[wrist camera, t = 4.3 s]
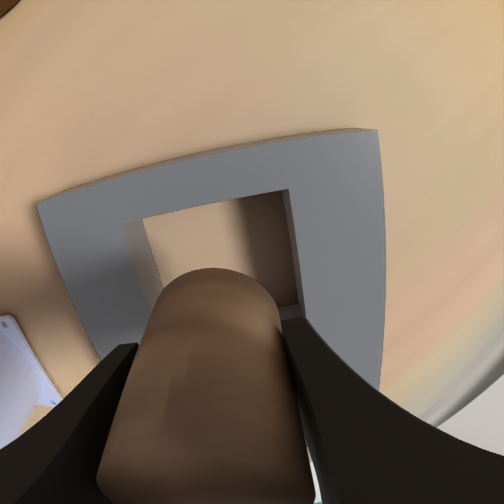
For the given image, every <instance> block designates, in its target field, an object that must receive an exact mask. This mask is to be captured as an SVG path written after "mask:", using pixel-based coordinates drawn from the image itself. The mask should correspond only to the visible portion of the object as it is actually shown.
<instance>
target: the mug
mask: <svg viewBox="0 0 504 504" xmlns="http://www.w3.org/2000/svg"><path fill="white" fill-rule="evenodd" d="M18 1H19V0H0V16H1V15H2V14H4V13H5V12H6V11H8V10H9V9H10V8H11V7H13V6H14V5H15V4H16V3H17V2H18Z"/></svg>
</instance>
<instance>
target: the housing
mask: <svg viewBox="0 0 504 504" xmlns="http://www.w3.org/2000/svg"><path fill="white" fill-rule="evenodd" d="M279 190H282V195H283V201H284V207H285V213H286V220H287V226H288V233H289V240H290V246H291V253H292V260H293V267H294V274H295V281H296V289H297V296H298V304H295V305H290V306H284V307H279V308H277V309H278V312H279V317H280V321H281V320H287V319H292V318H297V317H302V316H303V317H305V318H306V319H308V321H309V322H310V324H311V325H312V326H313V328H314V329H315V330H316V331H317V333H318V334H319V335H320V336H321V337H322V339H323V340H324V341H325V342H326V343H327V344H328V345H329V346H330V347H331V348H332V350H333V351H334V352H335V353H336V354H337V355H338V356H339V357H340V358H341V359H342V360H343V361H344V362H345V363H346V364H348V365H349V366H350V367H351V368H352V369H353V370H354V371H355V372H356V373H357V374H358V375H360V376H361V377H362V378H363V379H364V380H365V381H367V382H368V383H369V384H370V385H371V386H373V387H374V388H375V389H376V390H378V391H379V384H380V375H381V364H382V353H383V339H384V323H385V299H386V233H385V209H384V192H383V179H382V167H381V157H380V147H379V139H378V130H373V129H362V128H349V129H340V130H331V131H323V132H315V133H308V134H301V135H294V136H287V137H281V138H275V139H269V140H263V141H257V142H251V143H246V144H241V145H235V146H230V147H225V148H220V149H215V150H211V151H206V152H202V153H197V154H193V155H188V156H184V157H180V158H176V159H171V160H167V161H163V162H159V163H155V164H152V165H148V166H144V167H140V168H137V169H133V170H129V171H126V172H122V173H119V174H115V175H112V176H109V177H105V178H102V179H99V180H96V181H92V182H89V183H86V184H83V185H80V186H77V187H74V188H71V189H68V190H65V191H62V192H60V193H58V194H56V195H54V196H52V197H50V198H48V199H46V200H44V201H42V202H40V203H38V204H36V206H37V209H38V213H39V216H40V219H41V222H42V225H43V228H44V231H45V234H46V237H47V240H48V243H49V246H50V248H51V251H52V254H53V257H54V259H55V262H56V264H57V267H58V270H59V272H60V275H61V277H62V279H63V282H64V284H65V287H66V289H67V291H68V294H69V296H70V298H71V301H72V303H73V305H74V307H75V309H76V312H77V314H78V316H79V318H80V320H81V322H82V324H83V326H84V328H85V330H86V332H87V334H88V336H89V338H90V340H91V342H92V344H93V346H94V348H95V350H96V352H97V354H98V356H99V357H100V359H101V361H102V360H103V359H104V358H105V357H106V356H107V355H108V354H109V353H110V352H111V351H112V350H113V349H114V348H115V347H117V346H118V345H119V344H127V343H136V342H138V345H139V344H140V342H141V339H142V336H143V334H144V331H145V329H146V326H147V323H148V321H149V318H150V316H151V313H152V311H153V308H154V305H155V303H156V301H157V298H158V296H159V295H160V293H161V292H162V290H163V286H162V283H161V280H160V277H159V274H158V271H157V268H156V264H155V261H154V258H153V255H152V252H151V248H150V245H149V242H148V238H147V235H146V232H145V228H144V225H143V221H142V218H147V217H151V216H155V215H160V214H164V213H169V212H173V211H178V210H182V209H187V208H192V207H196V206H201V205H206V204H211V203H216V202H221V201H226V200H231V199H236V198H241V197H246V196H252V195H257V194H262V193H268V192H273V191H279ZM305 441H306V439H305ZM306 446H307V443H306ZM307 447H308V446H307Z"/></svg>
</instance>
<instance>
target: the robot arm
mask: <svg viewBox="0 0 504 504" xmlns="http://www.w3.org/2000/svg"><path fill="white" fill-rule="evenodd" d="M280 322H281V328H282V334H283V339H284V344H285V348H286V353H287V358H288V362H289V366H290V370H291V374H292V378H293V383H294V387H295V392H296V397H297V402H298V407H299V412H300V416H301V421H302V426H303V431H304V436H305V439H306V443H307V446H308V449H309V452H310V456H311V459H312V462H313V465H314V468H315V472H316V476H317V480H318V484H319V489H320V495H321V500H322V504H504V456H502V455H499V454H496V453H492V452H489V451H487V450H484V449H481V448H479V447H476V446H474V445H471V444H469V443H466V442H464V441H462V440H459V439H457V438H455V437H453V436H451V435H449V434H447V433H445V432H443V431H441V430H440V429H438V428H436V427H434V426H432V425H430V424H428V423H426V422H424V421H422V420H421V419H419V418H417V417H416V416H414V415H413V414H411V413H409V412H408V411H406V410H405V409H403V408H401V407H400V406H398V405H397V404H396V403H394V402H393V401H391V400H390V399H388V398H387V397H386V396H384V395H383V394H382V393H380V392H379V391H378V390H376V389H375V388H374V387H373V386H371V385H370V384H369V383H368V382H367V381H365V380H364V379H363V378H362V377H361V376H360V375H358V374H357V373H356V372H355V371H354V370H353V369H352V368H351V367H350V366H349V365H348V364H346V363H345V362H344V361H343V360H342V359H341V358H340V357H339V356H338V355H337V354H336V353H335V352H334V351H333V350H332V348H331V347H330V346H329V345H328V344H327V343H326V342H325V341H324V340H323V339H322V337H321V336H320V335H319V334H318V333H317V331H316V330H315V329H314V328H313V326H312V325H311V324H310V322H309V321H308V319H306V318H305V317H303V316H302V317H297V318H292V319H287V320H281V321H280ZM138 347H139V345H138V342H136V343H127V344H119V345H118V346H117V347H115V348H114V349H113V350H112V351H111V352H110V353H109V354H108V355H107V356H106V357H105V358H104V359H103V360H102V361H101V362H100V363H99V364H98V365H97V366H96V367H95V368H94V369H93V370H92V371H91V372H90V373H89V374H88V375H87V376H86V377H85V378H84V379H83V380H82V381H81V382H80V383H79V384H78V385H77V386H76V387H75V388H74V389H73V390H72V391H71V392H70V393H69V394H68V395H67V396H66V397H65V398H64V399H63V398H62V396H61V395H60V393H59V392H58V390H57V389H56V387H55V386H54V384H53V383H52V381H51V380H50V378H49V377H48V375H47V374H46V372H45V371H44V369H43V367H42V366H41V364H40V363H39V361H38V359H37V358H36V356H35V354H34V353H33V351H32V349H31V347H30V346H29V344H28V342H27V340H26V338H25V337H24V335H23V333H22V331H21V329H20V327H19V326H18V324H17V322H16V320H15V318H14V317H13V316H11V315H4V316H0V504H114V503H112V502H111V501H110V500H109V499H107V498H106V497H105V495H104V494H103V493H102V492H101V491H100V489H99V487H98V485H97V482H96V476H97V472H98V469H99V465H100V462H101V458H102V455H103V452H104V448H105V445H106V442H107V438H108V435H109V432H110V429H111V426H112V422H113V419H114V416H115V413H116V410H117V407H118V404H119V401H120V398H121V395H122V392H123V389H124V386H125V383H126V381H127V378H128V375H129V372H130V369H131V366H132V364H133V361H134V358H135V355H136V353H137V350H138ZM36 405H39V406H54V408H53V409H52V410H51V411H50V412H49V413H48V414H47V415H46V416H45V417H43V418H42V419H41V420H40V421H39V422H37V423H36V424H35V425H34V426H32V427H31V428H30V429H29V430H27V431H26V432H25V433H24V434H22V435H21V433H22V431H23V429H24V427H25V425H26V423H27V421H28V419H29V417H30V416H31V414H32V412H33V410H34V408H35V406H36ZM20 435H21V436H20Z"/></svg>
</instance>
